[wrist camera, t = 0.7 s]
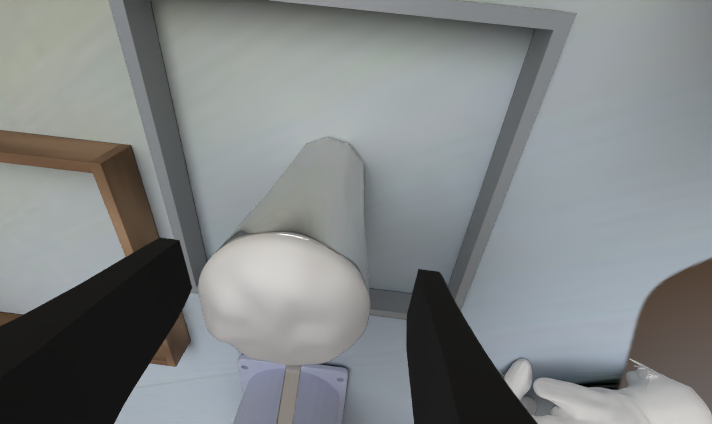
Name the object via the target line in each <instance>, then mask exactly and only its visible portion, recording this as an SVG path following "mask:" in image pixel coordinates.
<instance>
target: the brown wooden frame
mask: <svg viewBox="0 0 712 424" xmlns="http://www.w3.org/2000/svg"><path fill="white" fill-rule="evenodd" d="M0 162H3V163H12V164H20V165H29V166H37V167H46V168H54V169H63V170H71V171H80V172H88V173H93V175H94V177H95V180H96V182H97V185H98V187H99V190H100V193H101V195H102V198H103V200H104V203H105V205H106V208H107V210H108V213H109V215H110V218H111V220H112V223H113V226H114V228H115V231H116V233H117V236H118V238H119V241H120V243H121V246H122V248H123V251H124V253H125V256H126V257H127V256H129V255H130V254H132V253H134V252H135V251H137V250H139V249H140V248H142V247H144V246H146V245H147V244H149V243H151V242H153V241H154V240H156V239H158V238H159V236H158V233H157V230H156V226H155V223H154V220H153V217H152V213H151V210H150V207H149V204H148V200H147V197H146V194H145V191H144V187H143V184H142V181H141V178H140V174H139V171H138V168H137V165H136V161H135V158H134V155H133V152H132V148H131V145H123V144H114V143H106V142H97V141H89V140H80V139H71V138H63V137H54V136H45V135H37V134H28V133H20V132H11V131H2V130H0ZM20 316H22V315H19V314H11V313H3V312H0V326H1V325H4V324H6V323H8V322H10V321H12V320H14V319H16V318H18V317H20ZM190 341H191V340H190V337H189V334H188V330H187V327H186V324H185V321H184V317H183V314H182V311H181V313H180V315H179V318H178V319H177V321H176V323H175V324H174V326H173V327H172V329H171V331H170V332H169V334H168V335H167V337H166V339H165V340H164V342H163V343H162V345H161V346H160V348H159V350H158V351H157V353H156V354H155V356H154V357H153V359H152V360H151V362H150V363H151V364H159V365H167V366H174V367H176V366H177V364H178V362H179V361H180V359H181V357H182V355H183V353H184V352H185V350H186V348H187V346H188V345H189V343H190Z"/></svg>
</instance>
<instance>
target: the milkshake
mask: <svg viewBox="0 0 712 424" xmlns="http://www.w3.org/2000/svg"><path fill="white" fill-rule="evenodd" d="M198 291H199V297H200V302H201V306H202V310H203V315H204V319H205V323H206V326H207V329H208V331H209V333H210V334H211V335H212V336H213V337H214V338H216V339H217V340H219V341H222V342H226V343H229V344H230V345H232V346H233V347H235V348H236V349H237V350H238V351H239V352H241V353H242V354H244V355H245V356H247V357H250V358H252V359H257V360H265V361H271V362H276V363H280V364H285V365H286V368H285V374H284V380H283V386H282V392H281V398H280V404H279V410H278V416H277V422H276V424H293V421H294V414H295V407H296V401H297V394H298V387H299V380H300V373H301V366H302V365H305V364H321V363H325V362H327V361H329V360H332V359H333V358H335V357H337V356H338V355H340V354H341V353H343V352H344V351H345V350H347V349H348V348H349V347H351V346H352V345H353V344H354V343H355V342H356V341H357V340H358V339H359V338H360V337H361V335H362V334H363V332H364V331H365V328H366V326H367V323H368V319H369V314H370V293H369V276H368V261H367V247H366V236H365V226H364V163H363V161H362V159H361V158H360V157H359V156H358V154H357V153H356V152H355V150H354V149H353V148H352V147H351V145H350V144H347V143H344V142H341V141H338V140H335V139H332V138H329V137H326V138H323V139H320V140H317V141H313V142H310V143H307V144H306V145H305V146H304V147H303V148H302V150H301V151H300V152H299V153H298V155H297V156H296V157H295V159H294V160H293V161H292V163H291V164H290V165H289V166H288V168H287V169H286V170H285V172H284V173H283V174H282V175H281V177H280V178H279V179H278V181H277V182H276V183H275V184H274V186H273V187H272V188H271V189H270V191H269V192H268V193H267V194H266V196H265V197H264V198H263V199H262V200H261V201H260V202H259V203H258V205H257V206H256V207H255V208H254V209H253V210H252V211H251V212H250V214H249V215H248V216H247V217H246V218H245V219H244V220H243V222H242V223H241V224H240V225H239V226H238V227H237V229H236V230H235V231H234V232H233V233H232V234H231V235H230V237H229V238H228V239H227V240H226V241H225V242H224V244H223V245H222V246H221V247H220V248H219V249H218V251H217V252H216V253H215V254H214V255H213V256H212V257H211V258H210V259H209V260H208V262H207V263H206V265H205V266H204V268H203V270H202V272H201V275H200V278H199V283H198Z"/></svg>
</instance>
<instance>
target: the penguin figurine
mask: <svg viewBox="0 0 712 424" xmlns="http://www.w3.org/2000/svg"><path fill="white" fill-rule="evenodd" d="M630 360H632V359H630ZM632 361H633V362H634V363H636V364H638V365H639V366H640V368H638V369H637V370H635V371H628V372H627V373H626V376H625V377H626V381H627V384H628V386H627V388H622V389H620V390H610V389H606V388H601V387H590V388H587V387H584V386H581V385H578V384H574V383H570V382H566V381H561V380H556V379H552V378H538V379H536V380H535V381H534V383H533V388H534V391H535V393H536V394H537V395H538V396H540V397H541V398H544V399H548V400H549V401H551V402H553V403H554V404H556V405H558V406H555V407H553V408H552V409H551V415H543V416H533V415H534V414H535V413H536V410H537V404H536V402H535V401H534V400H533V399H532V398H529V397H527V396H524V395H525V394H526V393H527V392H528V390H529V389H530V387H531V384H532V370H531V365H530V363H529V362H528V361H527V360H526V359H518V360H517V361H516V362H514V363H513V364H512V366H511V367H510V369H509V370H508V371H507V373H506V374H505V376H504V378H503V379H504V380H505V382H506V383H507V384H508V386H509V387H510V388H511V390H512V391H513V392H514V394H515V395H516V396H517V398H518V399H519V400H520V402H521V403H522V404H523V406H524V407H525V408H526V409H527V411H528V412H529V413H530V414H531V416H532V417H533V418H534V419H535V421H536V422H537V423H538V424H712V415H711V413H710V411H709V409H708V407H707V405H706V404H705V403H704V401H703V400H702V399H701V398H700V397H699V396H698V395H697V394H696V392H695V391H694V390H693V389H692V388H691V387H689V386H687V385H684V384H682V383H680V382H677V381H675V380H673V379H669V378H668V377H666V376H664V375H662V374H660V373H658V372H656V371H654V370H652V369H650V368H648V367H646V366H645V365H644V366H645V367H644V366H643V365H641V364H642V363H641V364H640V363H638V362H636V361H634V360H632ZM636 367H638V366H636Z"/></svg>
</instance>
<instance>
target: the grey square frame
mask: <svg viewBox="0 0 712 424" xmlns="http://www.w3.org/2000/svg"><path fill="white" fill-rule="evenodd" d="M271 1H281V2H290V3H300V4H309V5H319V6H328V7H338V8H348V9H357V10H367V11H376V12H386V13H395V14H405V15H414V16H424V17H433V18H443V19H453V20H462V21H472V22H481V23H491V24H500V25H510V26H519V27H529V28H535V31H534V34H533V37H532V40H531V43H530V46H529V49H528V52H527V55H526V58H525V61H524V64H523V67H522V70H521V73H520V76H519V79H518V82H517V85H516V88H515V91H514V93H513V96H512V99H511V102H510V105H509V108H508V111H507V114H506V117H505V120H504V123H503V126H502V129H501V132H500V135H499V138H498V141H497V144H496V147H495V150H494V153H493V156H492V159H491V161H490V164H489V167H488V170H487V173H486V176H485V179H484V182H483V185H482V188H481V191H480V194H479V197H478V200H477V203H476V206H475V209H474V212H473V215H472V218H471V221H470V224H469V227H468V229H467V232H466V235H465V238H464V241H463V244H462V247H461V250H460V253H459V256H458V259H457V262H456V265H455V268H454V271H453V274H452V277H451V280H450V283H449V286H448V288H449V290H450V292H451V294H452V296H453V298H454V300H455V302H456V304H457V305H458V307H459V309H460V311H461V309H462V306H463V304H464V301H465V299H466V296H467V293H468V291H469V288H470V286H471V283H472V281H473V278H474V276H475V273H476V270H477V268H478V265H479V263H480V260H481V258H482V255H483V252H484V250H485V247H486V245H487V242H488V240H489V237H490V234H491V232H492V229H493V227H494V224H495V222H496V219H497V217H498V214H499V211H500V209H501V206H502V204H503V201H504V199H505V196H506V193H507V191H508V188H509V186H510V183H511V181H512V178H513V176H514V173H515V170H516V168H517V165H518V163H519V160H520V158H521V155H522V152H523V150H524V147H525V145H526V142H527V140H528V137H529V135H530V132H531V129H532V127H533V124H534V122H535V119H536V117H537V114H538V111H539V109H540V106H541V104H542V101H543V99H544V96H545V93H546V91H547V88H548V86H549V83H550V81H551V78H552V76H553V73H554V70H555V68H556V65H557V63H558V60H559V58H560V55H561V52H562V50H563V47H564V45H565V42H566V40H567V37H568V35H569V32H570V29H571V27H572V24H573V22H574V19H575V17H576V14H577V13H570V12H564V11H556V10H547V9H537V8H527V7H518V6H508V5H498V4H489V3H479V2H469V1H460V0H271ZM109 4H110V8H111V11H112V15H113V19H114V22H115V26H116V29H117V33H118V37H119V40H120V44H121V48H122V51H123V55H124V58H125V62H126V66H127V69H128V73H129V77H130V80H131V84H132V87H133V91H134V95H135V98H136V102H137V105H138V109H139V113H140V116H141V120H142V124H143V127H144V131H145V134H146V138H147V142H148V145H149V149H150V153H151V156H152V160H153V163H154V167H155V171H156V174H157V178H158V182H159V185H160V189H161V192H162V196H163V200H164V203H165V207H166V211H167V214H168V218H169V221H170V225H171V229H172V232H173V236H174V239H175V240H180V244H181V247H182V251H183V255H184V259H185V262H186V266H187V270H188V273H189V277H190V281H191V284H192V290H191V292H190V293H198V294H199V291H198V283H199V278H200V275H201V272H202V270H203V268H204V266H205V265H206V263H207V260H206V256H205V251H204V247H203V242H202V238H201V233H200V228H199V224H198V219H197V215H196V210H195V205H194V201H193V196H192V192H191V187H190V182H189V178H188V173H187V169H186V164H185V159H184V155H183V150H182V146H181V141H180V136H179V132H178V127H177V123H176V118H175V114H174V109H173V104H172V100H171V95H170V91H169V86H168V81H167V77H166V72H165V68H164V63H163V58H162V54H161V49H160V45H159V40H158V35H157V31H156V26H155V22H154V17H153V12H152V8H151V3H150V0H109ZM369 293H370V314H369V315H373V316H381V317H389V318H397V319H405V320H407V312H408V308H409V304H410V300H411V297H412V294H409V293H401V292H393V291H385V290H377V289H369Z"/></svg>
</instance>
